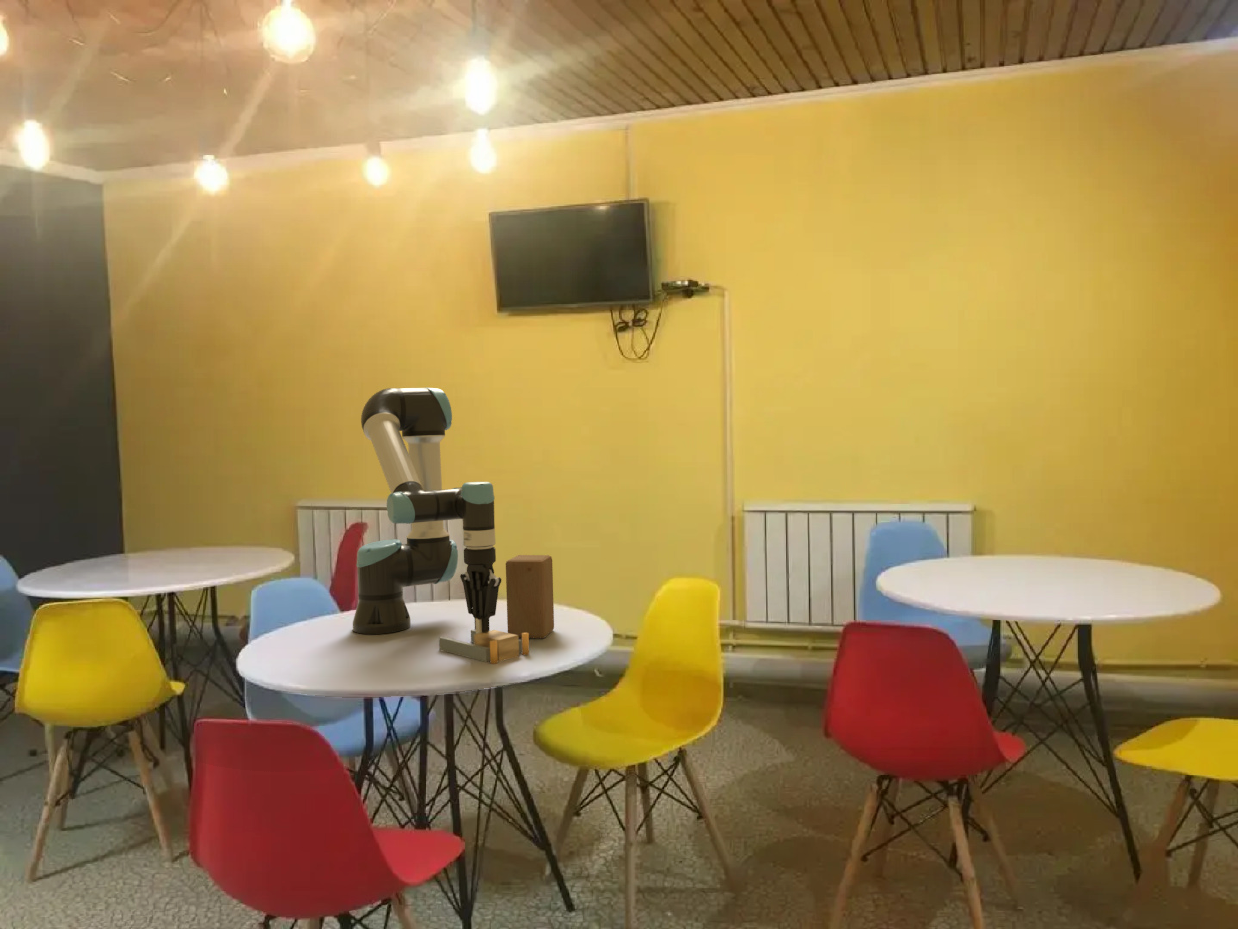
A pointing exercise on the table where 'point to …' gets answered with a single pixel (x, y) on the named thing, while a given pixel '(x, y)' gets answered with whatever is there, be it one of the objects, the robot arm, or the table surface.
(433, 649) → the table surface
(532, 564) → the wooden block
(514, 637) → the oak block
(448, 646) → the chute
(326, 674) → the table surface
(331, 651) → the table surface
